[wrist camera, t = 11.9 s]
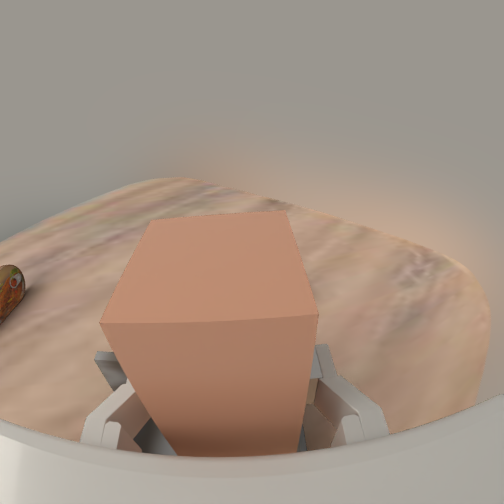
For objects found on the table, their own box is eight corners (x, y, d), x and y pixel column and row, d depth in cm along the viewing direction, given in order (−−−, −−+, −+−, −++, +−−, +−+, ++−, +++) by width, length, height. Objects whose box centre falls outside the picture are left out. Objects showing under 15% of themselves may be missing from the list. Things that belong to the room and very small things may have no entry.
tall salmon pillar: (200, 484, 12) (99, 323, 6) (204, 408, 16) (151, 219, 10) (290, 481, 12) (318, 313, 6) (280, 405, 16) (285, 210, 10)
